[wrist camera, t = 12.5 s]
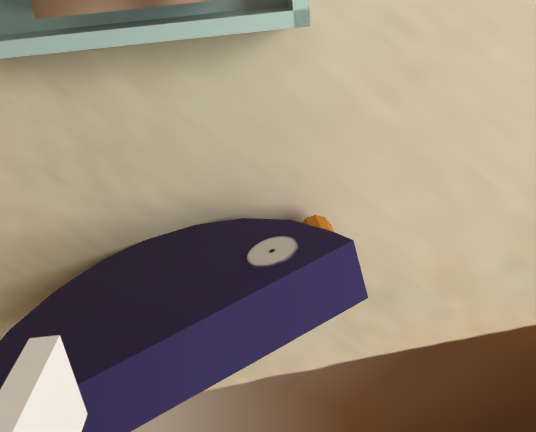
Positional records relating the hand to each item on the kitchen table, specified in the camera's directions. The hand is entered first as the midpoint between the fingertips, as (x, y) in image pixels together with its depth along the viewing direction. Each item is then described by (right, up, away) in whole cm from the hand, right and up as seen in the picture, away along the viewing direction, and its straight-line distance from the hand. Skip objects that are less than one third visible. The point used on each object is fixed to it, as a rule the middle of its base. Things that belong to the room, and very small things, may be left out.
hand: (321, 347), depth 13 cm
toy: (-8, 0, +32) cm, 33 cm away
